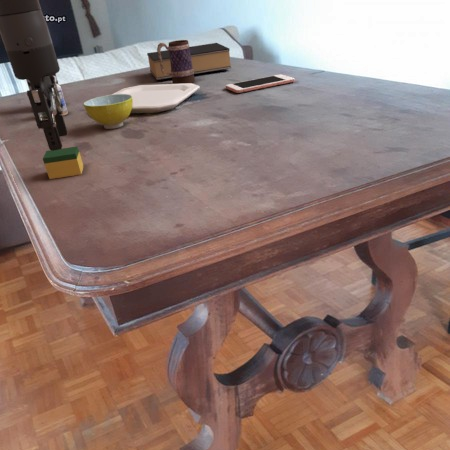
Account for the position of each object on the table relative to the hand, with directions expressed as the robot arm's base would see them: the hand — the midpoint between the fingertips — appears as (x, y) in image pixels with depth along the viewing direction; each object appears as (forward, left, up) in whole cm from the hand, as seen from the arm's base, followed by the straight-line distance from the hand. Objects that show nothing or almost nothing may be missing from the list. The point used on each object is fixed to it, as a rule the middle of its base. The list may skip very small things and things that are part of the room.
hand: (59, 142), depth 88 cm
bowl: (+8, +29, -6) cm, 31 cm away
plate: (+17, +48, -6) cm, 51 cm away
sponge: (0, 0, -6) cm, 6 cm away
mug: (+27, +68, -6) cm, 73 cm away
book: (+32, +85, -6) cm, 91 cm away
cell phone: (+49, +50, -6) cm, 70 cm away
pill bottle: (-8, +49, -6) cm, 50 cm away
